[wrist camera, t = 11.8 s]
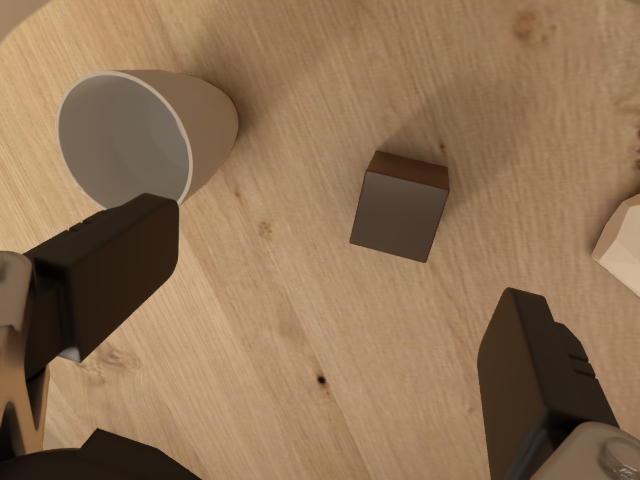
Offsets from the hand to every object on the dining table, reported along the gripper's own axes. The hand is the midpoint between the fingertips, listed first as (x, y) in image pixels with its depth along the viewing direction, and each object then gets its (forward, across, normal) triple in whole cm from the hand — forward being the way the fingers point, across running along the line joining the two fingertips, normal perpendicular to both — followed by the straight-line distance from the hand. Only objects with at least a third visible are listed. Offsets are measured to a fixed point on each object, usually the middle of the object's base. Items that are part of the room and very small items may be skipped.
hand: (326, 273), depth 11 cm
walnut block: (+21, -2, +5) cm, 22 cm away
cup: (+22, +13, +3) cm, 25 cm away
